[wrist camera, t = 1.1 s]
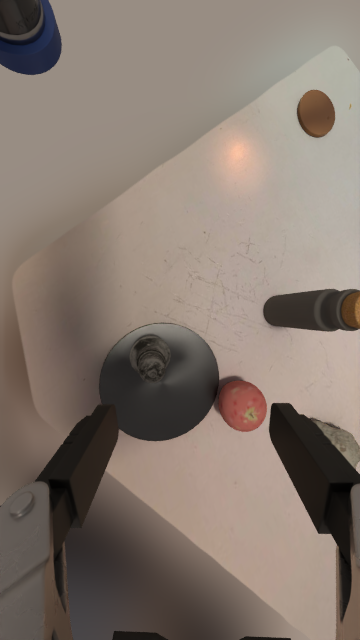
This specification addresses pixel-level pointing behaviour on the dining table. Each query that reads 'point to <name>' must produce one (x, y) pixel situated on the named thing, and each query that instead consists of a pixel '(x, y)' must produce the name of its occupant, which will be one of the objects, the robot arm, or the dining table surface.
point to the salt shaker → (150, 358)
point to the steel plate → (161, 385)
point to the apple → (242, 405)
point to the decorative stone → (342, 442)
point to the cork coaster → (316, 113)
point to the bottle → (315, 310)
